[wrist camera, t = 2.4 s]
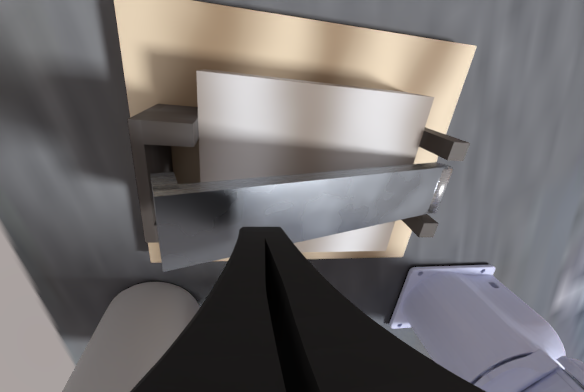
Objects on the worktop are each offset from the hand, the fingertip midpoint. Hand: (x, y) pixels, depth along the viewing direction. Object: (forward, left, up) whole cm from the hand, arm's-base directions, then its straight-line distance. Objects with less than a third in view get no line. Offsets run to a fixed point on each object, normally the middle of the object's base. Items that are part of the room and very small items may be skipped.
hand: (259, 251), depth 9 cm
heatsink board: (-3, 0, -11) cm, 11 cm away
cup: (+6, +14, -11) cm, 18 cm away
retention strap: (-3, 0, -5) cm, 6 cm away
